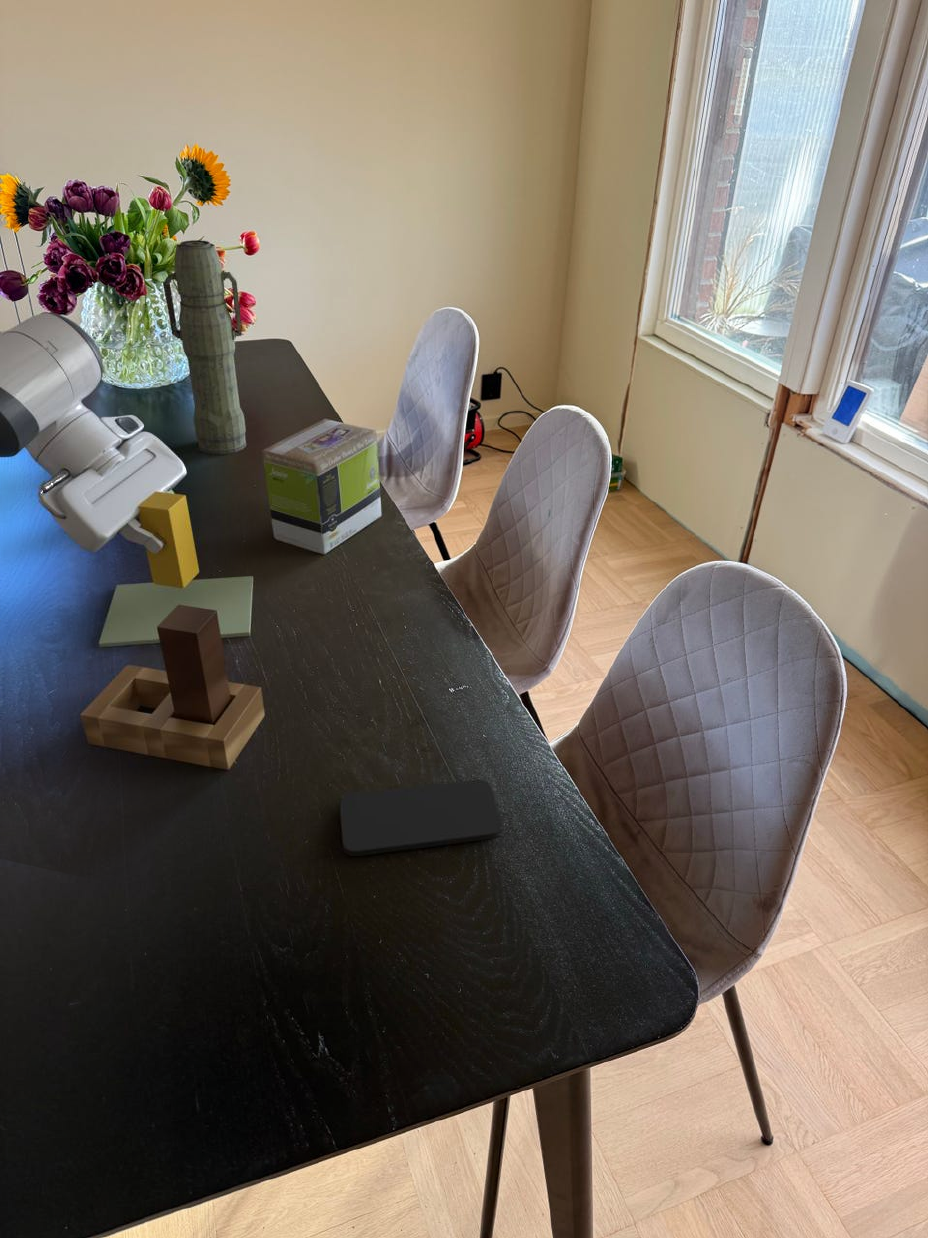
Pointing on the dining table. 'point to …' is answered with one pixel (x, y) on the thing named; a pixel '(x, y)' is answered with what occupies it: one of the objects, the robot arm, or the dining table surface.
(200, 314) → the thermos
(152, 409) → the dining table surface
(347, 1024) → the dining table surface
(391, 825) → the phone
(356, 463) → the tea box
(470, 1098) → the dining table surface
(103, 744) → the stand
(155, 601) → the mat
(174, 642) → the walnut peg
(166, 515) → the yellow peg
